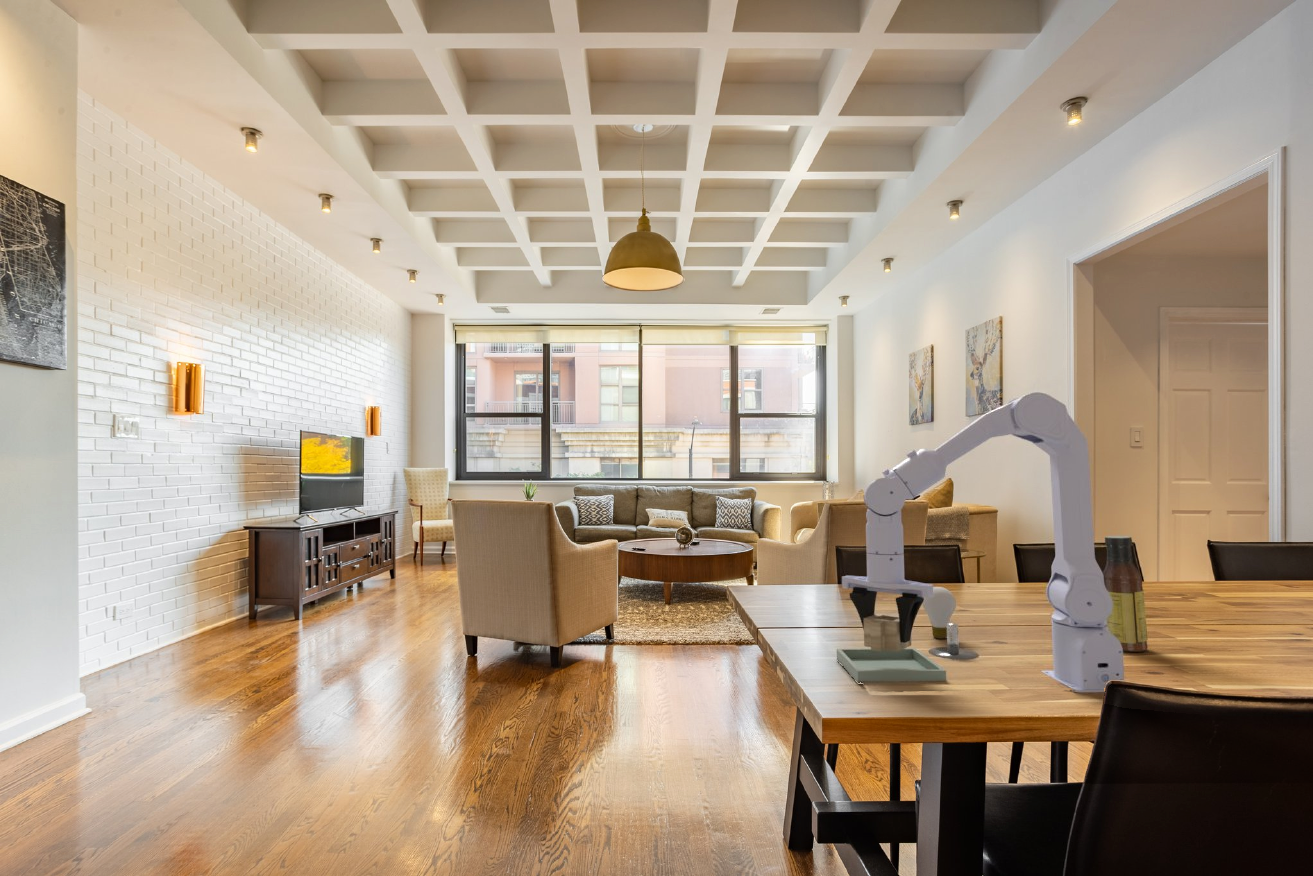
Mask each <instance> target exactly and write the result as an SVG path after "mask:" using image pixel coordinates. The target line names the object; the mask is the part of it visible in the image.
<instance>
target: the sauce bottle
mask: <svg viewBox="0 0 1313 876" xmlns="http://www.w3.org/2000/svg"><path fill="white" fill-rule="evenodd" d="M1104 544H1105V546H1106V551H1107V552H1106V556H1107V557H1106V564H1105V568H1104V569H1103V570H1102V573H1103V576H1104V585H1105V587H1106V589H1107V591H1108V593H1109V594H1110V596H1111V598H1112V602H1113V608H1112V612H1111V614H1110V616H1109V617H1108V618H1107V626H1108V630H1109V632H1110V633H1111V634H1112V635H1114V636H1115V637H1116V638H1117V639H1118V640H1119V642H1120V643H1121V645H1122V649H1123V652H1130V653H1131V652H1132V653H1139V652H1140V653H1141V652H1145V651H1147V650H1148V647H1149V646H1148V643H1147V642H1148V629H1147V618H1146V616H1147V615H1146V606H1145V603H1146V602H1145V596H1144V595H1145V593H1144V588H1143V578H1142V576H1141V574H1140V571H1139V569H1138V568H1137V567H1136V566H1135V564H1134V560H1133V554H1132V545H1133V539H1132V536H1130V535H1129V536H1128V535H1106V536H1105V537H1104Z"/></svg>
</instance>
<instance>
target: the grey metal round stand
mask: <svg viewBox="0 0 1313 876" xmlns="http://www.w3.org/2000/svg"><path fill="white" fill-rule="evenodd" d="M946 638H947V639H946V641H947V642H946V644H947V646H942V647H934V648H933V647H932V648H930V649H928V653H929V654H930V655H931V656H935V657H936V658H941V659H946V660H947V659H948V660H961V661H966V660H974V659H978V657H980V655H979V653H977V652H976V651H973V650H971V649H966V648H960V645H959V644H960V641H959V638H960V637H959V623H958V622H957V623H956V622H949V623H947V637H946Z"/></svg>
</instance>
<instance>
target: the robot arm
mask: <svg viewBox="0 0 1313 876" xmlns="http://www.w3.org/2000/svg"><path fill="white" fill-rule="evenodd" d="M1010 435H1012V436H1013V437H1016V438H1020V439H1021V440H1024V441H1028V442H1031V443H1032V445H1033V444H1034V445H1035V446H1036V447H1038V448H1039V449H1040V450H1042V452H1044V453H1046V454H1047V455H1048V456H1049V462H1050V463H1049V464H1050V482H1051V483H1050V485H1051V497H1052V498H1051V501H1052V502H1051V503H1052V518H1053V535H1054V552H1055V557H1054V559H1053V561H1052V564H1051V577H1050V578H1049V581H1048V583H1047V585H1046V589H1045V595H1046V598H1047V601H1048V603H1049V605H1051V607H1052V608H1054V611H1053V613H1052V614H1051V617H1050V619H1051V636H1052V637H1051V641H1052V643H1051V644H1052V661H1053V663H1052V664H1053V670H1041V673H1042V674H1044V675H1046V676H1048V677H1049V678H1052V679H1054V680H1055V681H1057V682H1059V683H1061V684H1063V685H1065V686H1066V687H1069V689H1071V690H1072V692H1075V693H1105V692H1104V688H1105V686H1106V683H1107V682H1108V681H1110V680H1124V681H1125V666H1124V665H1125V663H1124V651H1123V649H1122V645H1121V643H1120V642H1119V640H1118V639H1117V638H1116V637H1115V636H1114V635H1112V634H1111V633H1110V632H1109V630H1108V626H1107V618H1108V617H1109V616H1110V614H1111V612H1112V608H1113V602H1112V598H1111V596H1110V594H1109V593H1108V591H1107V589H1106V587H1105V585H1104V576H1103V570H1102V569H1101V567H1100V566H1099V564H1098V562H1097V560H1096V555H1095V539H1094V536H1095V535H1094V520H1093V506H1092V505H1093V504H1092V503H1093V501H1092V488H1091V473H1090V470H1091V469H1090V457H1089V456H1090V455H1089V454H1090V453H1089V443H1088V438H1087V437H1086V436H1085V434H1084V433H1083V432H1082V431H1081V429H1080V428H1079V426H1078V425H1077V424H1076V422H1075V421H1074V419H1073V418H1072V417H1071V415H1070V414H1069V412H1068V409H1067V405H1066V404H1065V403H1063V402H1061V401H1059V400H1058V399H1056V398H1054V397H1053V396H1051V395H1049V394H1047V393H1044V392H1041V391H1040V392H1038V391H1037V392H1030V393H1027V394H1025V395H1022V396H1021V397H1018V398H1014V399H1011V400H1009V401H1007V403H1005V404H1003V405H1001V406H998V407H996V408H995V409H993V410H990V411H988V412H986V413H983V414H982V415H980V416H979V417H978V418H976V419H975V420H974V421H972V422H971V423H970V424H968V425H967V426H965V427H964V428H962V429H961V430H959V431H958V432H957V433H956V434H954V435H952V436H951V437H949V439H947V440H946V441H945V442H944V443H941V444H940V445H939V446H938V447H936V448H935V449H928V448H920V449H918V450H917V451H916V450H915V449H913V450H910V451H909V452H908V453H906V456H907V458H906V459H904V460H903V461H901V462H899V463H898V464H897V465H895V466H893V468H890V469H888V468H885V469H884V470H882V475H883V476H884V477H880V478H877V479H874V480H872V481H870V482H869V483H868V484H867V486H866V487H865V490H864V494H863V496H862V498H863V501H864V504H865V506H866V507H867V509H866V512H865V513H866V514H865V517H866V518H865V519H866V521H867V522H866V524H865V540H866V541H865V543H866V547H865V548H866V576H861V575H860V576H859V575H845V576H844V575H843V576H841V588H842V589H845V590H846V589H847V590H848V589H850V590H851V589H852V592H849V599H850V600H851V601H852V603H853V606H854V608H855V609H856V612H857V614H858V616H859V619H860V623H861V625H862V629H863V631H864V618H866V617H869V616H872V615H875V612H876V611H875V609H876V600H877V594H878V593H886V594H894V595H901V596H898V597H895V604H896V608H897V612H898V613H897V614H899V622H900V641H901V642H903V643H906V642H908V641H910V638H911V639H912V630H913V627H914V623H915V620H916V618H917V616H918V613H919V610H920V608H921V607H922V606H923V604H922V603H923V601H924V598H931V597H933V587H934V584H933V583H924V582H919V581H912V580H906V579H905V557H904V556H905V554H904V549H905V548H904V547H905V546H904V525H903V523H902V509H903V507H904V506H905V503H906V500H913V499H914V498H916V497H917V496H919V495H920V494H922V493H924V492H925V491H926V490H928V489H930V488H931V487H933V486H934V485H935V484H937V483H938V482H940V481H942V480H943V479H944V478H945V477H946V469H947V467H948V466H949V465H950V464H952V463H954V461H956V460H958V459H959V458H961V457H963V456H965V455H966V454H968V453H969V452H971V451H972V450H974V449H975V448H977V447H979V446H980V445H982V444H983V443H985V442H987V441H989V439H992V438H996V437H997V438H998V437H1004V436H1010Z"/></svg>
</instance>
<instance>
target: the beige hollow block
mask: <svg viewBox="0 0 1313 876" xmlns="http://www.w3.org/2000/svg"><path fill="white" fill-rule="evenodd" d="M863 645H864V647H867V648H870V649H871V650H874V651H880V652H881V651H883V650H889V651H895V652H898V651H900V650H902V649H904V648H909V647H911V646H912V637H911V638H910V641H908V642H906V643H903V642H901V641H900V622H899V614H898V613H896V612H894V613H891V614H888V613H887V614H886V613H876V614H875V613H874V615H872V616H869V617H866V618H864V630H863Z"/></svg>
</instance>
